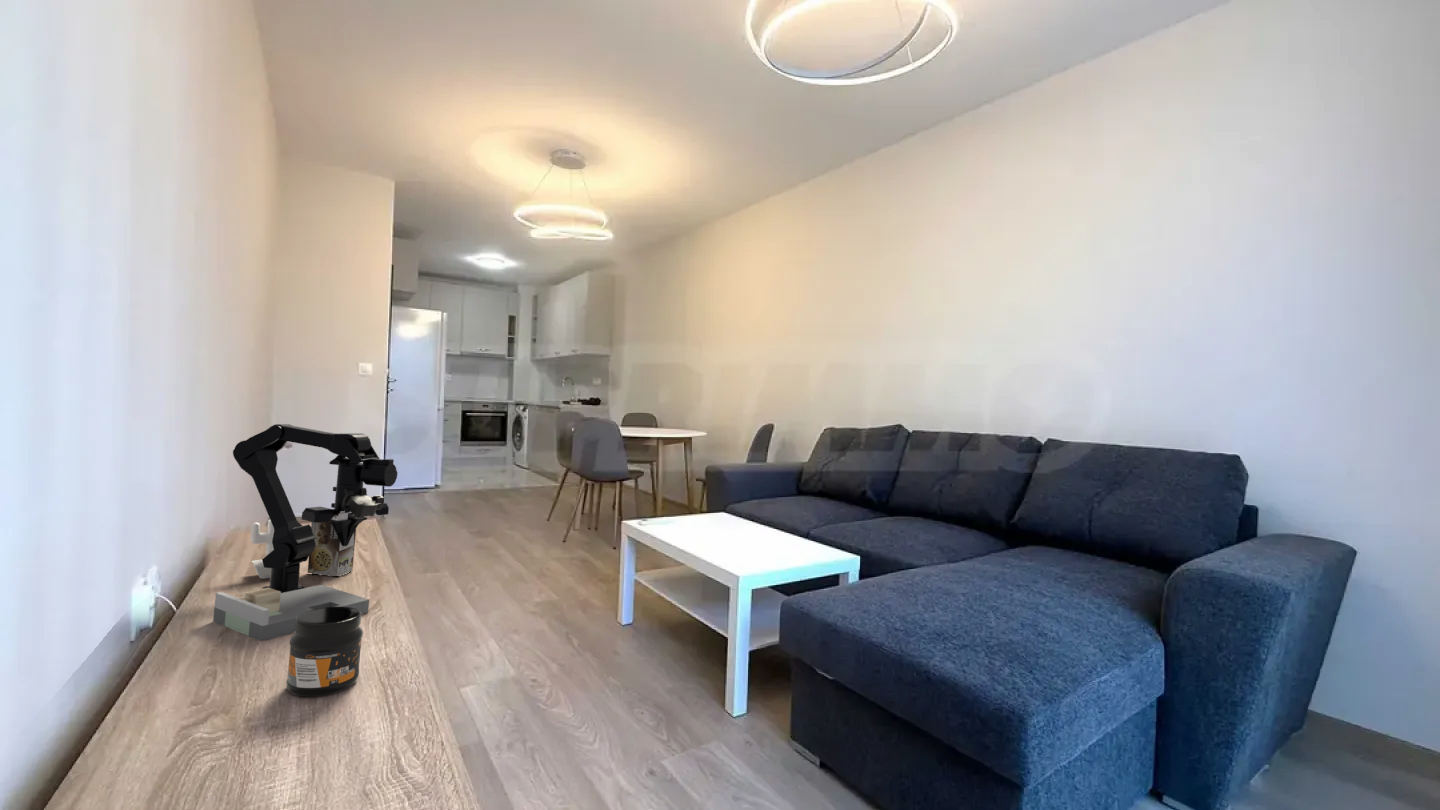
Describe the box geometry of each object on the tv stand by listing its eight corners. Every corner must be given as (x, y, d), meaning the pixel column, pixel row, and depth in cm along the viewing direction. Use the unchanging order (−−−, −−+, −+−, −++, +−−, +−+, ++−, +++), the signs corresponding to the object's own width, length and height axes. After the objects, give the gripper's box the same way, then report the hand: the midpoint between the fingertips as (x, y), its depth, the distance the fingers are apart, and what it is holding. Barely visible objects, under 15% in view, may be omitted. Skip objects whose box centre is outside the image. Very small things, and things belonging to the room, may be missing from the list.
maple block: (243, 611, 125) (244, 592, 125) (266, 606, 129) (268, 587, 129) (255, 616, 123) (256, 596, 123) (279, 610, 127) (280, 591, 127)
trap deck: (213, 621, 126) (215, 592, 126) (320, 596, 146) (323, 572, 146) (261, 641, 118) (263, 610, 118) (368, 612, 138) (370, 586, 138)
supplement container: (294, 705, 95) (301, 630, 96) (278, 682, 102) (285, 612, 103) (367, 687, 103) (373, 617, 103) (348, 666, 110) (354, 601, 110)
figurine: (293, 576, 160) (299, 520, 160) (249, 581, 153) (255, 523, 153) (288, 570, 165) (293, 515, 165) (244, 574, 158) (250, 518, 158)
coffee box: (353, 571, 168) (358, 514, 168) (336, 577, 162) (342, 518, 162) (323, 568, 169) (328, 511, 169) (305, 574, 162) (311, 515, 163)
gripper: (332, 490, 138) (325, 558, 137) (405, 484, 154) (399, 545, 154) (303, 484, 142) (297, 550, 142) (377, 479, 159) (372, 538, 159)
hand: (344, 545), depth 149 cm, fingers closed
